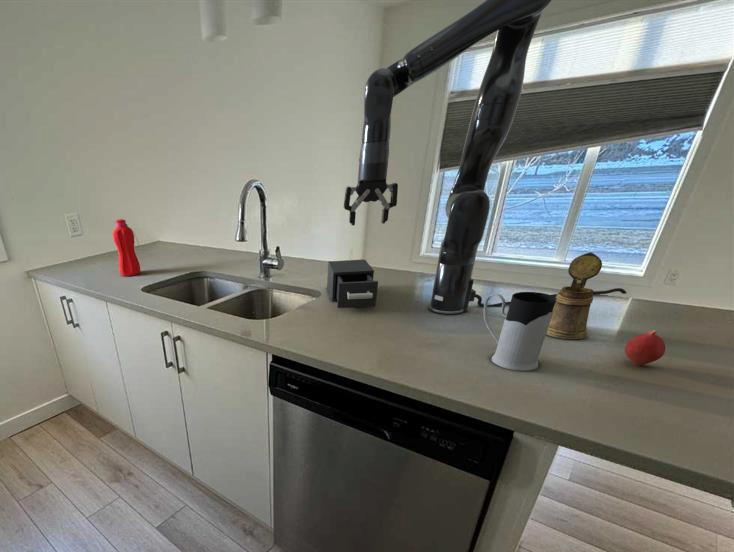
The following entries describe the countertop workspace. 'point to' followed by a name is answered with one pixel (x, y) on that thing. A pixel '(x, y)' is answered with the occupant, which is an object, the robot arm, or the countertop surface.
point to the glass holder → (522, 329)
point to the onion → (645, 348)
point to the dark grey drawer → (355, 291)
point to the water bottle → (126, 249)
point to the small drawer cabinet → (345, 272)
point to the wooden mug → (575, 300)
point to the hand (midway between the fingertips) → (368, 224)
